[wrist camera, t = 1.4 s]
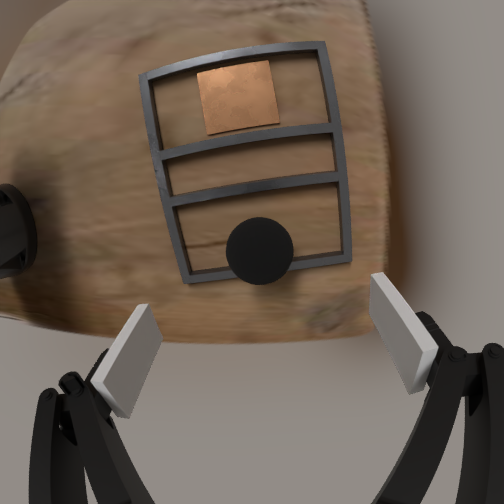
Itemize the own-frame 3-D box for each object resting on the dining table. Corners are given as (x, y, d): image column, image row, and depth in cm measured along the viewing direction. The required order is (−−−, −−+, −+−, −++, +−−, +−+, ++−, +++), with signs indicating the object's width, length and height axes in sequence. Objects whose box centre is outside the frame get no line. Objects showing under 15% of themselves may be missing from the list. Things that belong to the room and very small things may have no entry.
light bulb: (291, 245, 32) (303, 289, 22) (241, 256, 32) (233, 303, 23) (279, 195, 29) (288, 221, 20) (227, 208, 30) (212, 239, 21)
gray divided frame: (186, 279, 34) (183, 284, 33) (142, 76, 24) (138, 75, 23) (349, 257, 32) (352, 261, 31) (322, 44, 23) (324, 40, 21)
